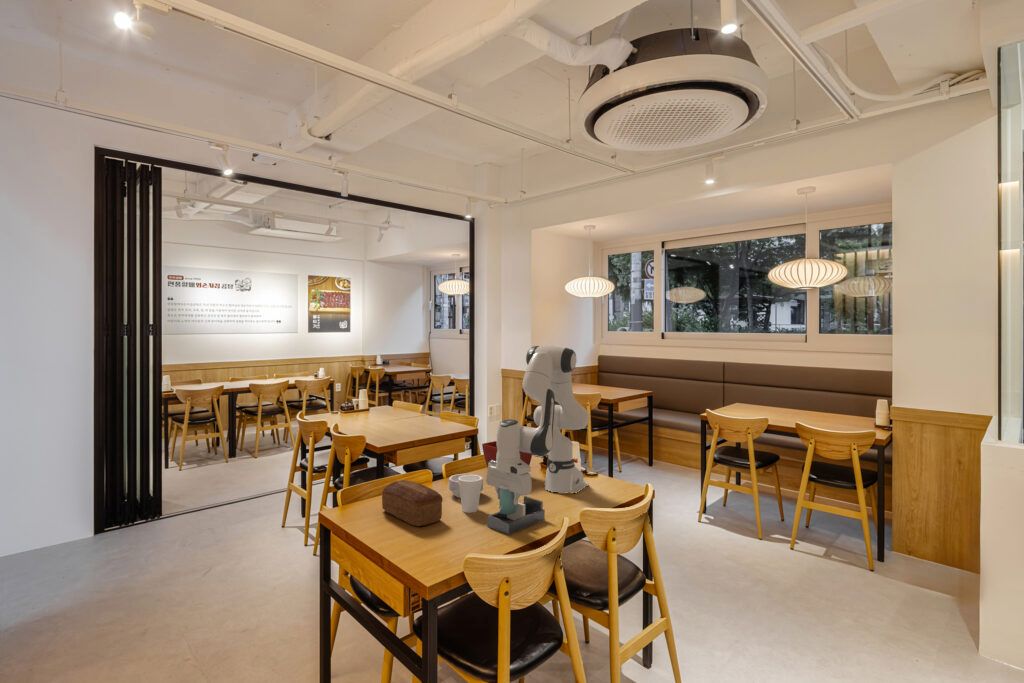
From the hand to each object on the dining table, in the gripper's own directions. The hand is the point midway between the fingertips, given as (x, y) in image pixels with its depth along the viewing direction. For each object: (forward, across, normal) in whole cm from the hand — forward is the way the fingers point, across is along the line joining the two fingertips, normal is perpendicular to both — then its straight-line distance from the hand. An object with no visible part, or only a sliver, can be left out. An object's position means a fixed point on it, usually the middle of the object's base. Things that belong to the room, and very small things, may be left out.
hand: (507, 501), depth 181 cm
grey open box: (+9, 0, +5) cm, 11 cm away
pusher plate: (+8, 0, +5) cm, 9 cm away
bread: (+10, -34, -18) cm, 40 cm away
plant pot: (+10, -44, +46) cm, 65 cm away
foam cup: (+10, -23, +2) cm, 25 cm away
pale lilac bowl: (+10, -38, +13) cm, 41 cm away
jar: (+4, 0, 0) cm, 4 cm away
